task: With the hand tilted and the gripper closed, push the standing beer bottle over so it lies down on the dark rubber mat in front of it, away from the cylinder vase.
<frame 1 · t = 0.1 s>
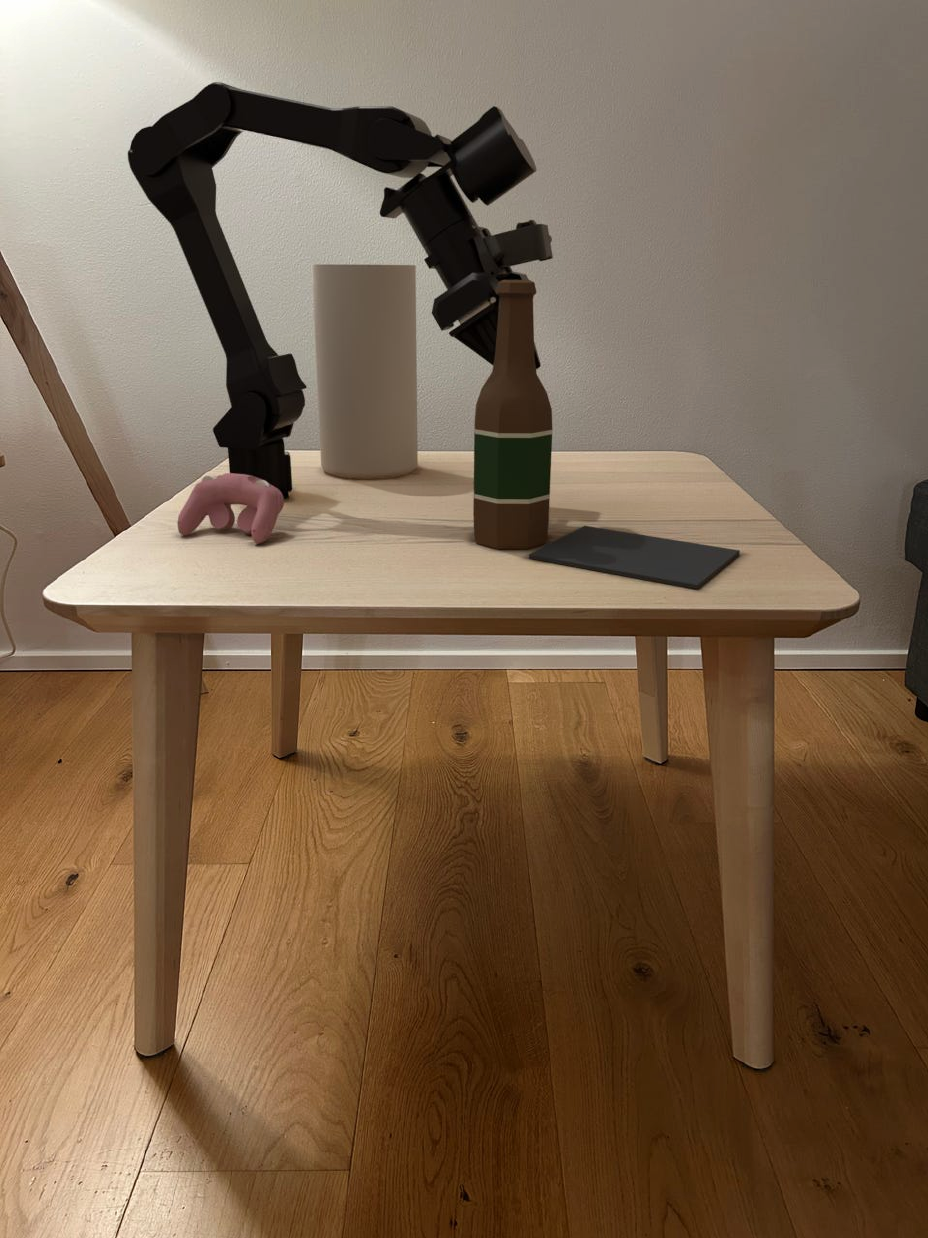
hand: (528, 373, 96), 15 cm above the table, tool tilted 35°, fingers open, 9 cm apart
video game controller: (233, 535, 94), on the table
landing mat: (635, 556, 87), on the table
beer bottle: (509, 541, 92), on the table
cylinder vase: (369, 471, 122), on the table
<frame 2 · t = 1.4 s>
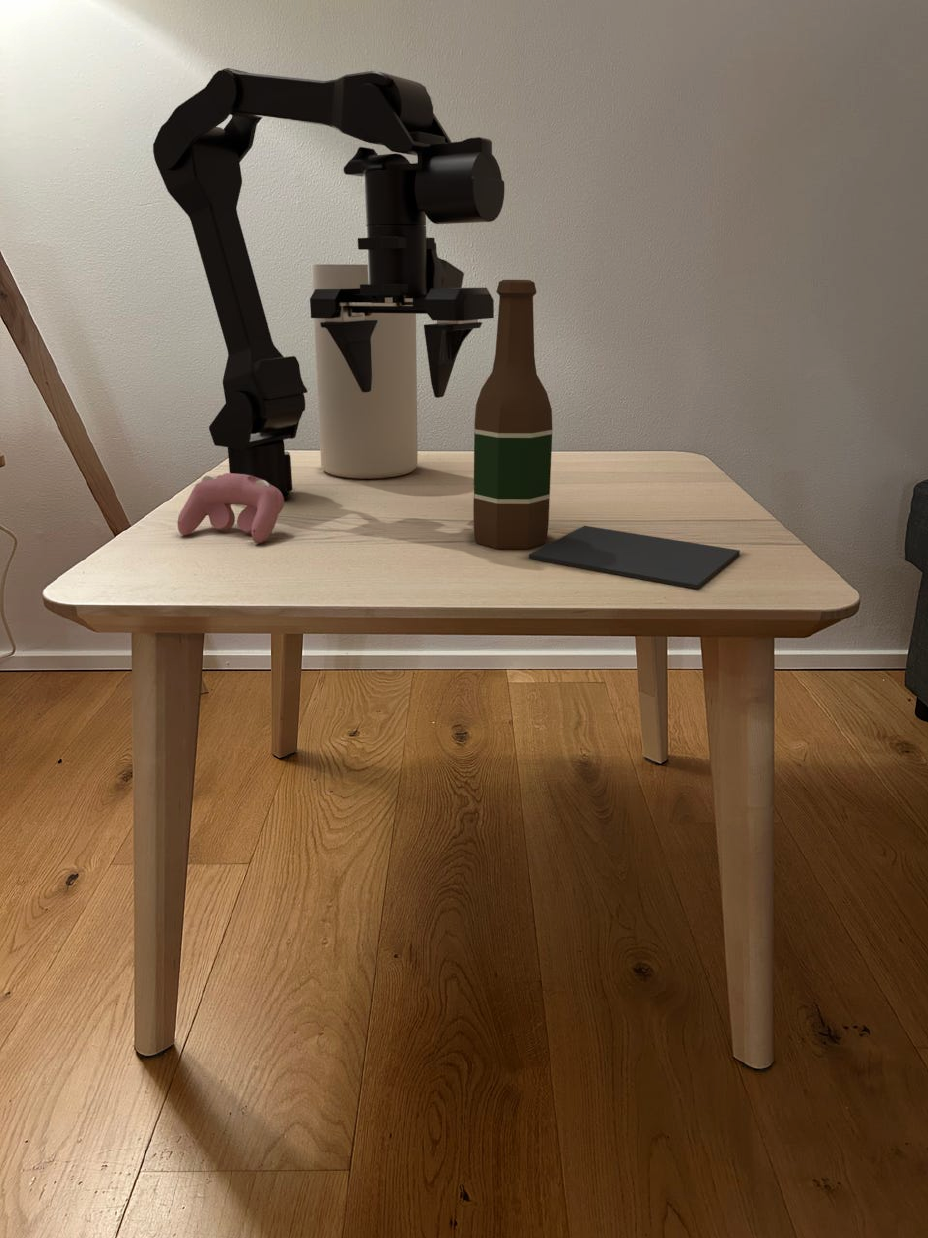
hand: (402, 394, 94), 13 cm above the table, tool pointing down, fingers open, 9 cm apart
nothing on the table moved.
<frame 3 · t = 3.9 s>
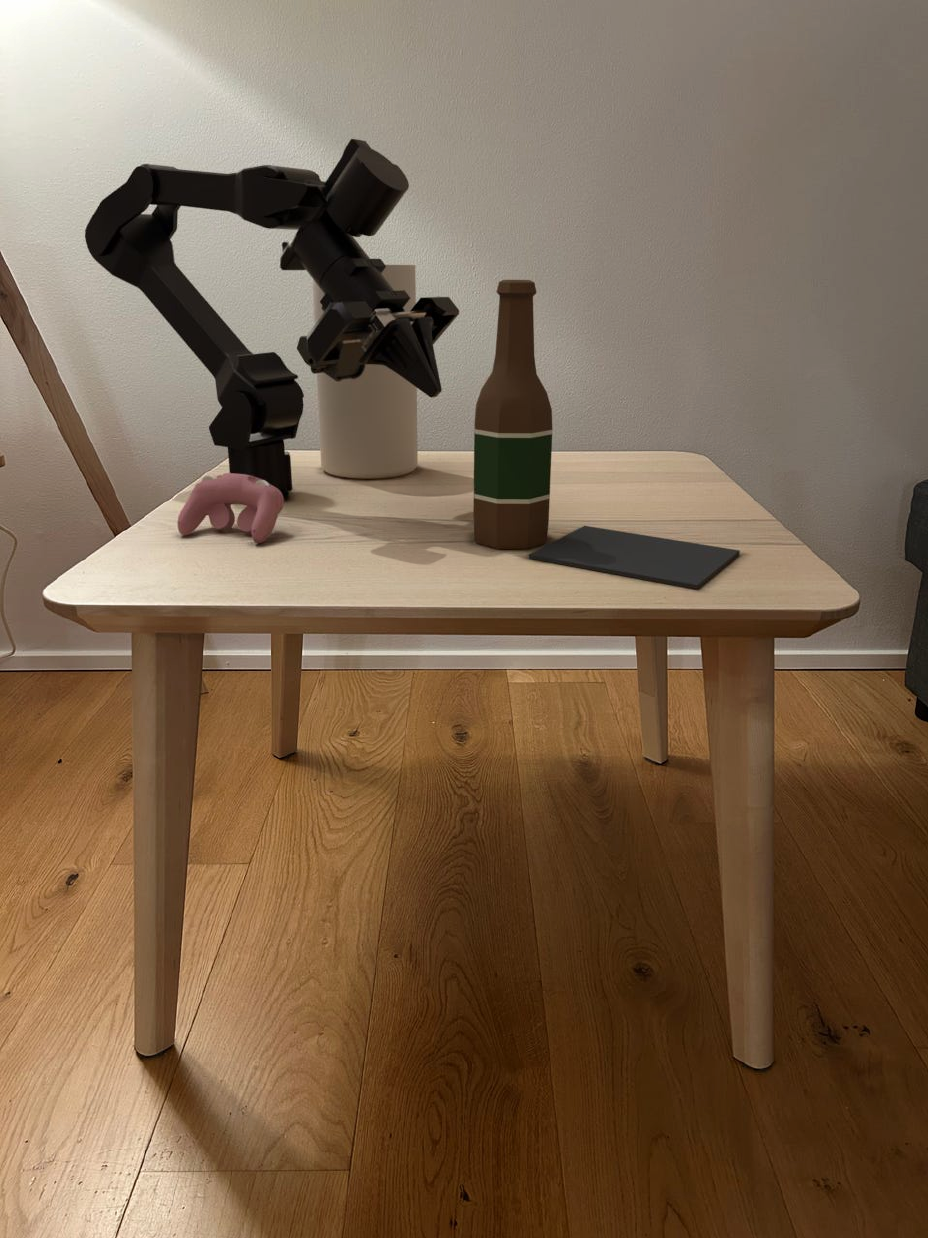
hand: (436, 394, 92), 13 cm above the table, tool tilted 45°, fingers closed
nothing on the table moved.
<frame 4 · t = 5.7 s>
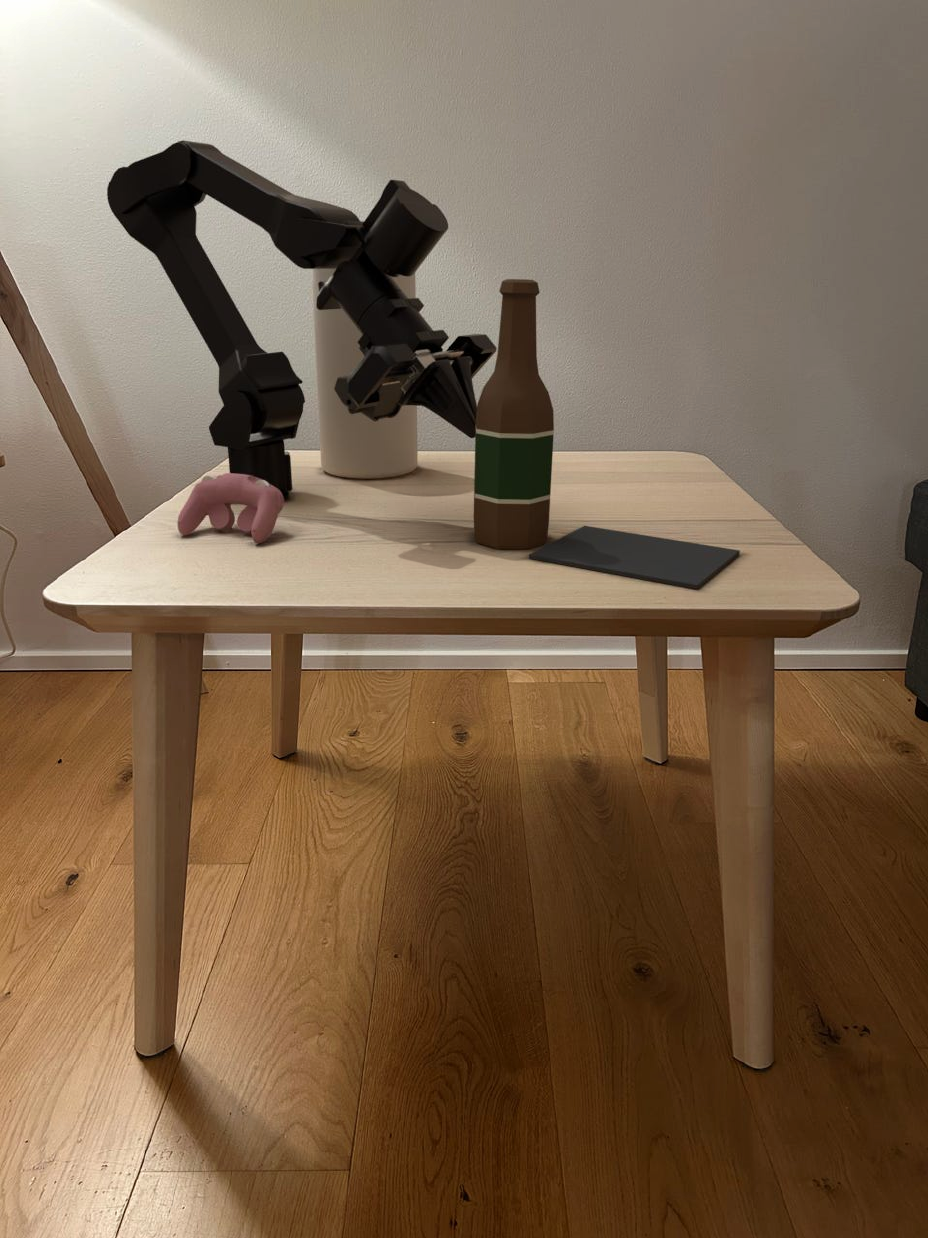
hand: (477, 434, 91), 10 cm above the table, tool tilted 45°, fingers closed
beer bottle: (509, 540, 92), on the table, touching gripper
everything else where it was.
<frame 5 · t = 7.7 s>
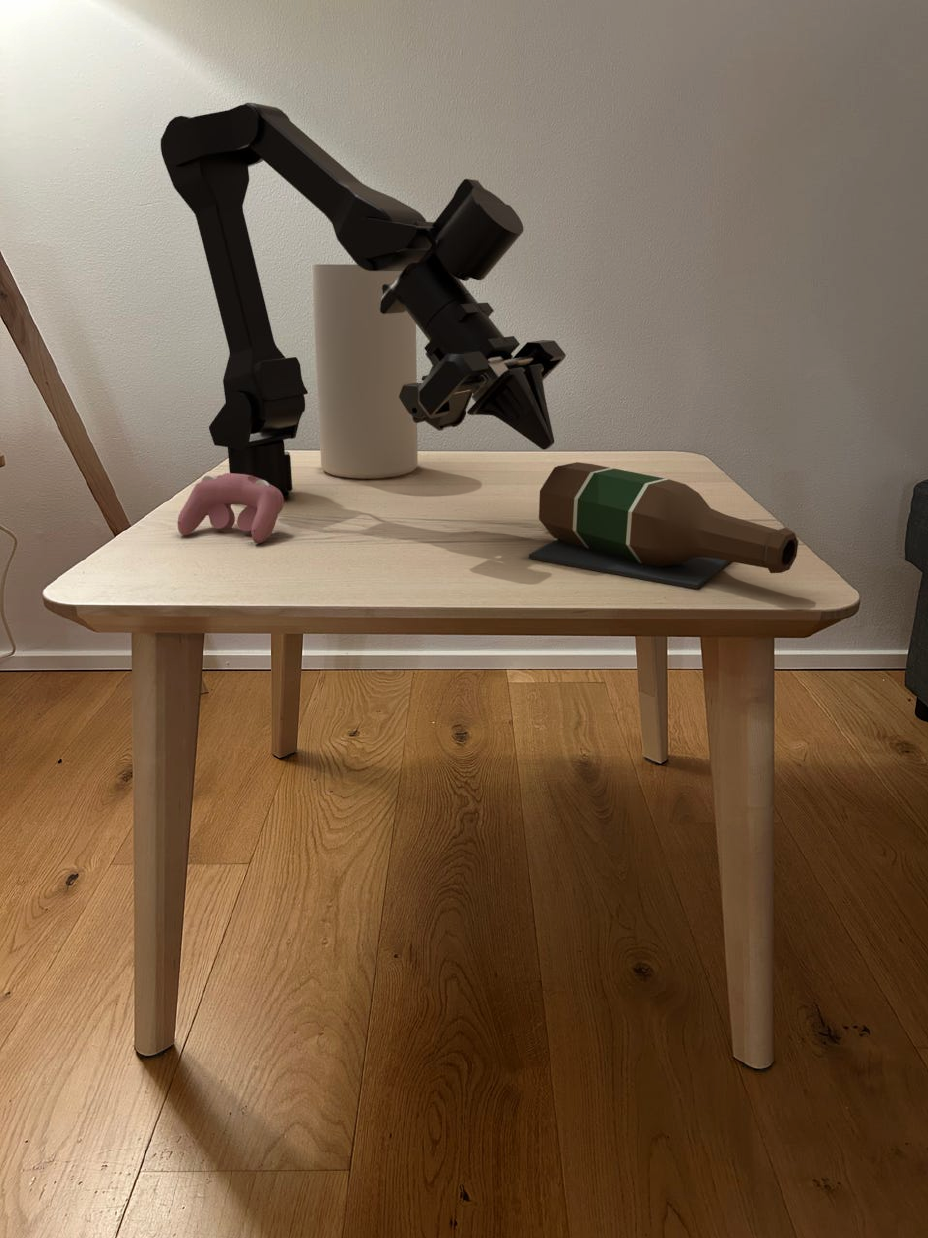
hand: (549, 446, 87), 10 cm above the table, tool tilted 45°, fingers closed
beer bottle: (560, 498, 91), point 4 cm above the table, touching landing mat
everything else where it was.
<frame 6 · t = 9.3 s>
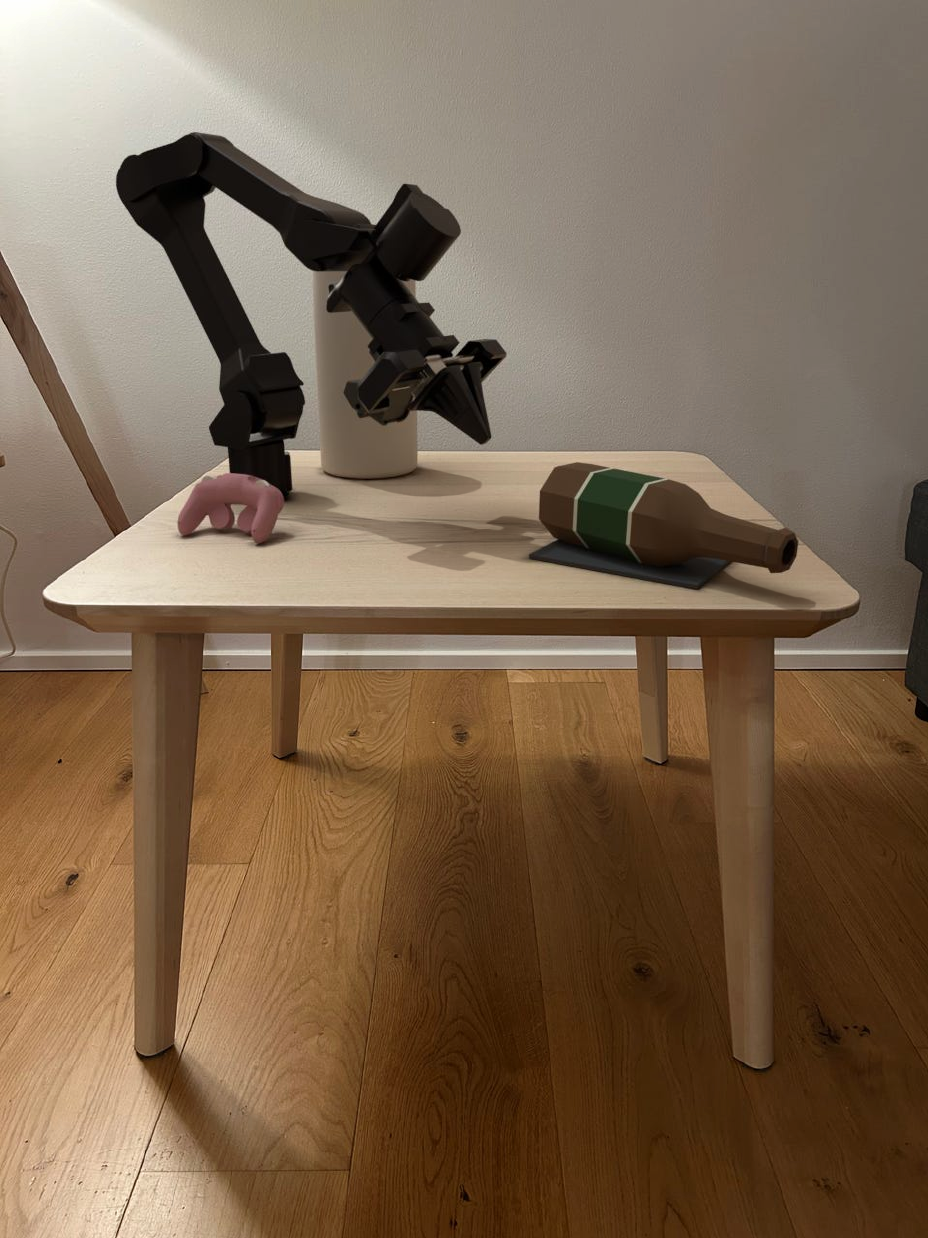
hand: (486, 441, 90), 9 cm above the table, tool tilted 45°, fingers closed
nothing on the table moved.
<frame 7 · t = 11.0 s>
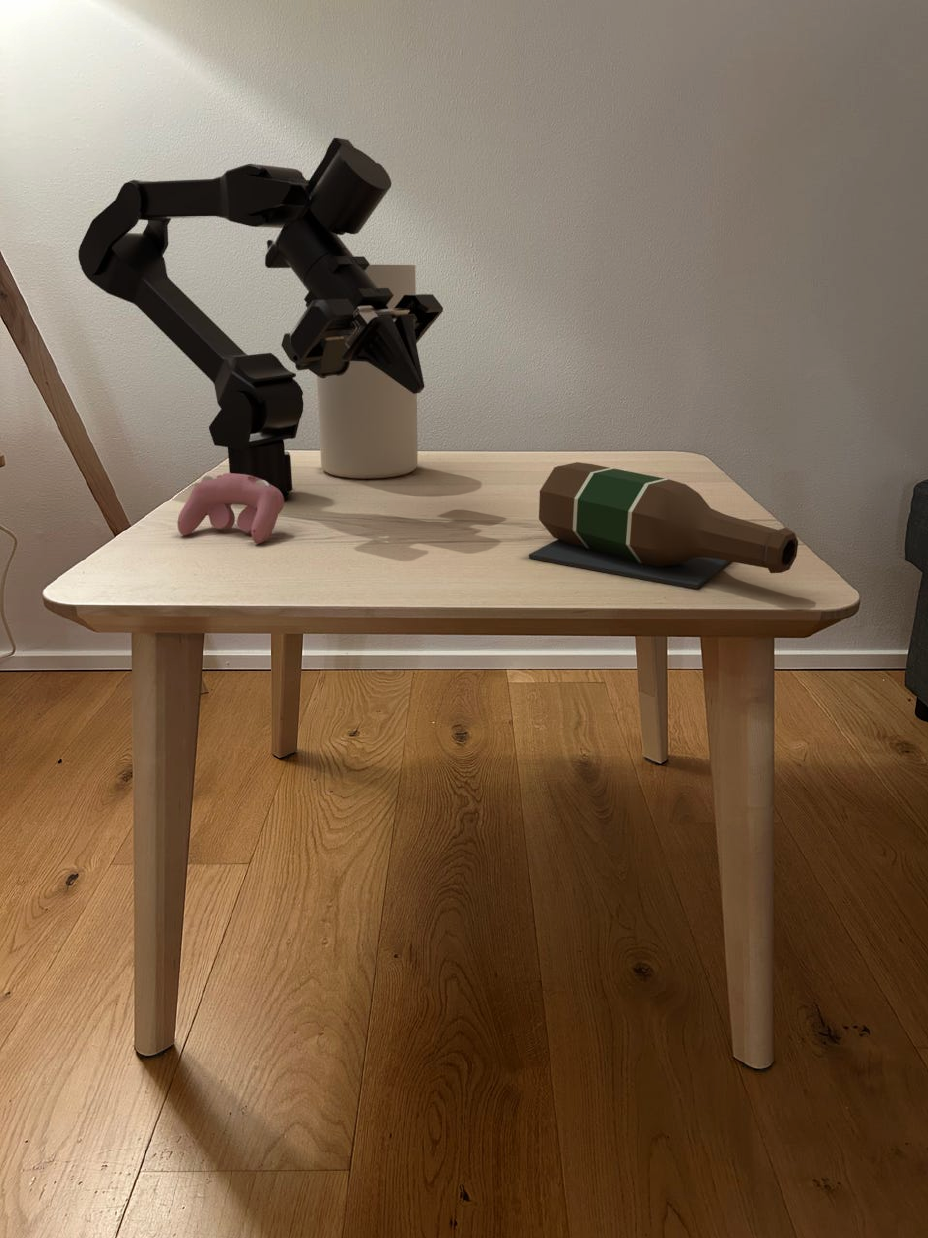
hand: (419, 390, 93), 14 cm above the table, tool tilted 45°, fingers closed
nothing on the table moved.
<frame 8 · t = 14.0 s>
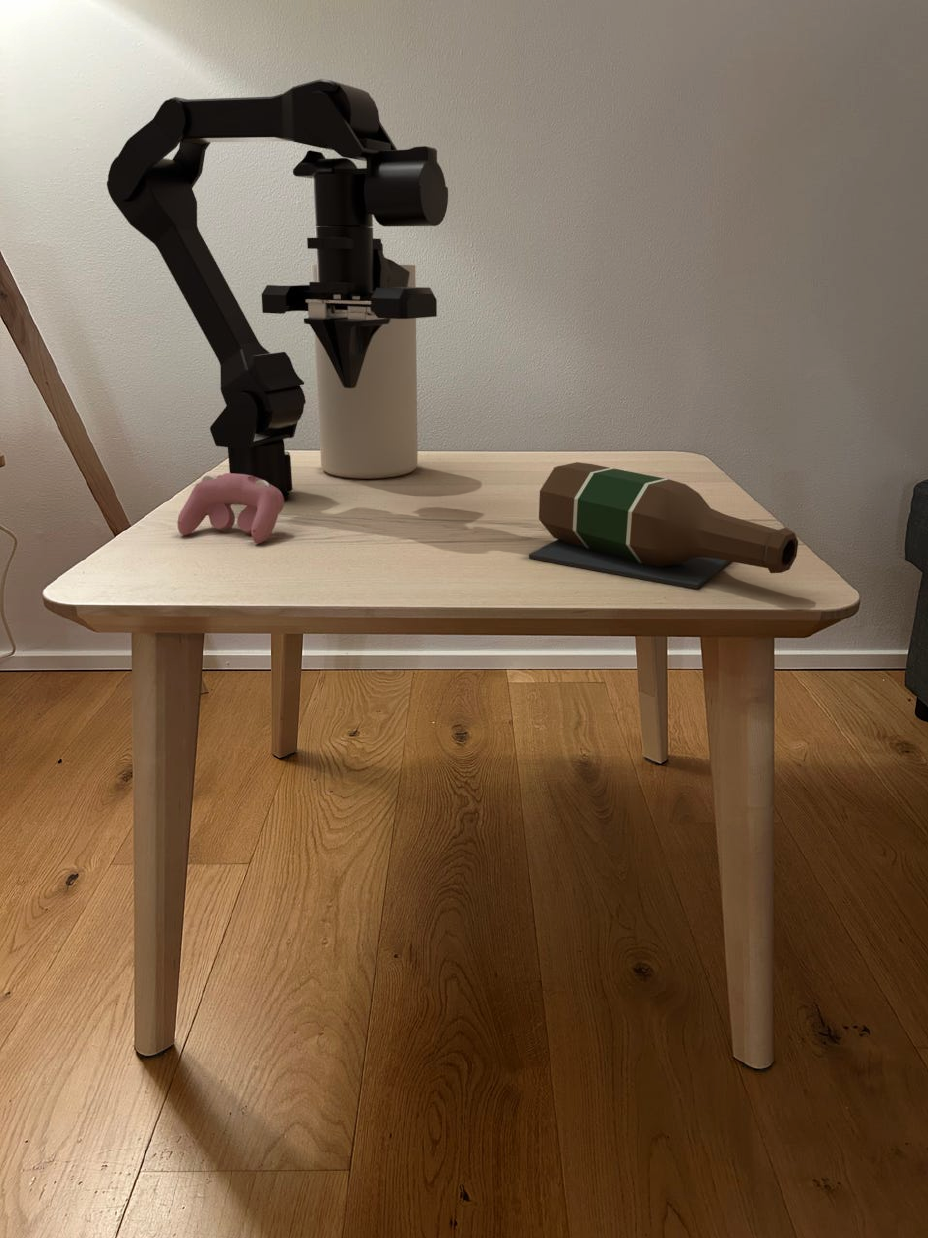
hand: (349, 387, 99), 13 cm above the table, tool pointing down, fingers closed
nothing on the table moved.
at the end: beer bottle tilted 90°; beer bottle touching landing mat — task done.
